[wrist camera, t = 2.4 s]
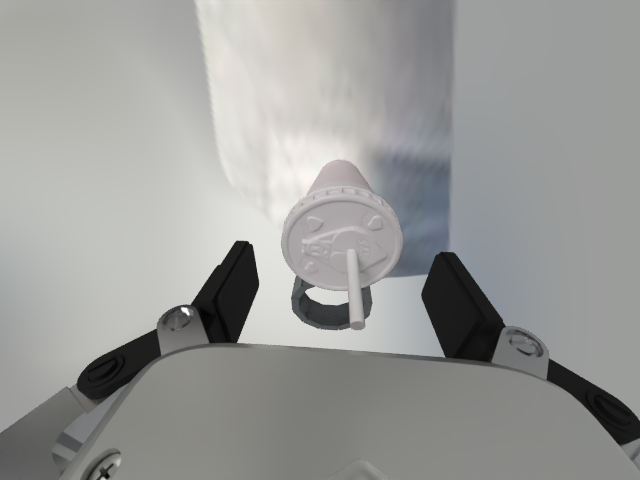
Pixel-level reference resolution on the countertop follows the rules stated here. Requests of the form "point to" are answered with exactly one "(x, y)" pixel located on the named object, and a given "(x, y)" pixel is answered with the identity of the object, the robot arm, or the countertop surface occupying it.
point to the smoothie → (342, 235)
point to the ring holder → (324, 308)
